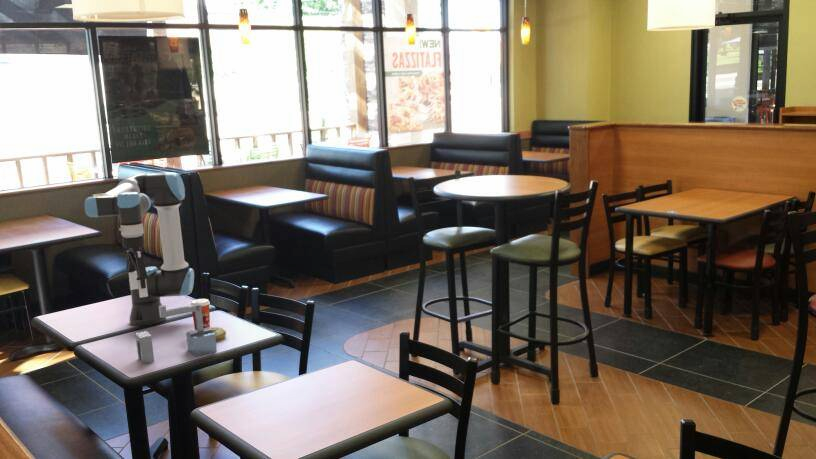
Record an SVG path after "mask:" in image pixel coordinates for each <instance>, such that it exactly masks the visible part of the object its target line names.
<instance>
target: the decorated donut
mask: <svg viewBox="0 0 816 459" xmlns="http://www.w3.org/2000/svg"><path fill="white" fill-rule="evenodd" d="M210 328H211V329H213V333H214V334H215V337H216V342H217V341H219V342H220V341H221V340H222V339H224V338H225V337H226V335H227V332H226V329H224V328H223V327H221V326H219V327H218V326H212V327H211V326H210Z"/></svg>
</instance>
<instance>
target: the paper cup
mask: <svg viewBox="0 0 816 459" xmlns="http://www.w3.org/2000/svg"><path fill="white" fill-rule="evenodd" d="M196 304H201V307H202V318H203V328H209V327H210V328H211V321H210V320H211V319H210V318H211V316H210V314H211V313H210V304H211V302H210V300H209V299H207V298H198V299H197V298H196V299H194V300H192V301H190V305H189V306H191V305H196ZM191 313H192V318H193V320H192V321H193V325H194V330H197V327H196V317H195V312H191Z"/></svg>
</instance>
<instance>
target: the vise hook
mask: <svg viewBox="0 0 816 459" xmlns="http://www.w3.org/2000/svg"><path fill="white" fill-rule="evenodd" d="M190 305H191V304H190ZM190 305H187V306H180V307H176V308H171V309H167V306H166V305H164V304H162V306H159V313H160V317H161V318H164V317H166V318H167V317H168V318H169V317H173V316H178V315H184V314H189V313H192V312H195V317H196V327H197V330H195V329H194V330H190V331H186V332H185V334H186V335H185V336H186V347H187V350H188V352H190V354H192V355H193V356H195V357H199V356H204V355H209V354H213V353H217V351H218V350H217V341H216V337H215V334H214V333H213V329H211V326H210V327H209V328H203V318H202V307H201V304H196V305H191V306H190Z"/></svg>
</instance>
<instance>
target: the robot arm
mask: <svg viewBox="0 0 816 459" xmlns="http://www.w3.org/2000/svg"><path fill="white" fill-rule="evenodd" d="M185 191H186V188H185V184H184V182H183V179H182V177H181V175H180V174H179V173H177V172H171V171H170V172H168V171H166V172H164V171H163V172H153V173H152V172H148V173H140V174H135V175H133V176H129V177H127V178H124V179H123V180H121V181H119V182H118V183H117V185H116V186H115V187H113V188H112V189H110V190H108V191H106V192H105V193H103V194H101V195H98V196H95V195H94V196H88V197H86V198H85V200H84V212H85V215H86V216H87V217H89V218H105V217H119V218H118V219H119V225H120V227H119V228H118V230H119V231H120V234H121V236H122V237H121V243H122V244H121V245H122V247H123V248H125V249H126V268H125V269H126V270H127V272H128V282H129V283H128V284H129V290H130V294H131V295H130V296H131V305H132V306H131V309H130V314H129V324H130V325H132V326H136V327H137V326H138V327H139V326H141V327H143V326H144V327H145V326H151V325H156V324H159V323H162V322H164V321H165V320H167V317H164V318H161V317H160V313H159V306H163V303H162V302H161V298H165V297H182V296H188V295H190V294H192V291H193V288H194V284H195V271H194V269H193V268H191V267H190V265H189V263H188V262H187V261H186V260H185V253H184V243H183V234H182V227H181V219H180V211H179V208H180V207H181V205H182V201H183V200H184V199H185V198H186V193H185ZM151 205H152V206H153V208H155V209H156V210H157V218H158V225H159V234H160V242H161V251H162V260H163V263H162V265H161V266H160V269H159V268H158V267H157V266H147V267H146V264H145V259H144V254H143V253H144V252H143V251H142V250H140V247H144V246H145V245H146V244H145V243H146V242H145V236H144V235H143V234H144V233H145V232H144V224H143V215H144V214H145V213H147V212H148V211H149V209H151ZM158 269H159V270H158Z"/></svg>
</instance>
